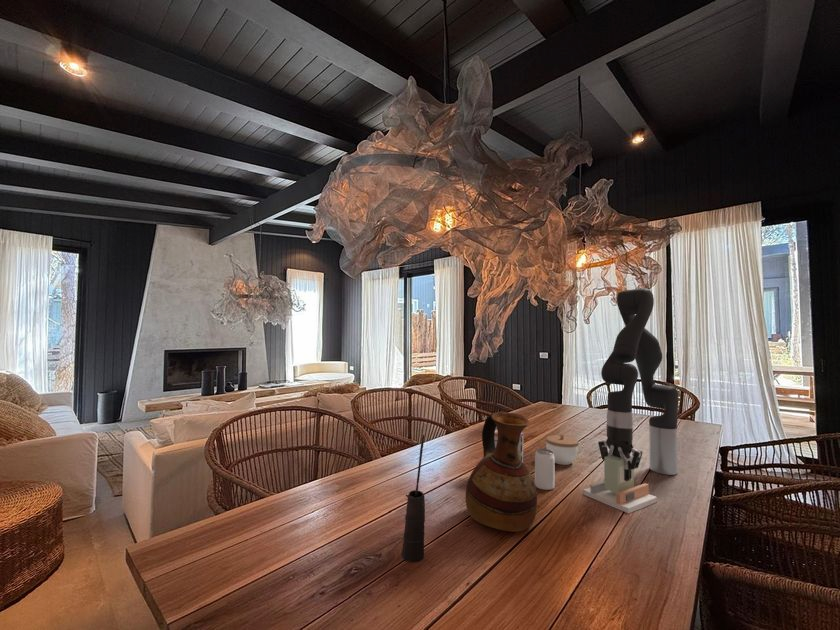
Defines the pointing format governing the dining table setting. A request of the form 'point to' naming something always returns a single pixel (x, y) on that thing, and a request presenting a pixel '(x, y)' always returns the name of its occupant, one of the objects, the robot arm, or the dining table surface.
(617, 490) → the carton
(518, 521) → the ceramic pitcher
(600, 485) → the shelf
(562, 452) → the lidded bowl
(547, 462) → the can
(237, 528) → the dining table surface
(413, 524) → the butter churn
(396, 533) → the dining table surface
